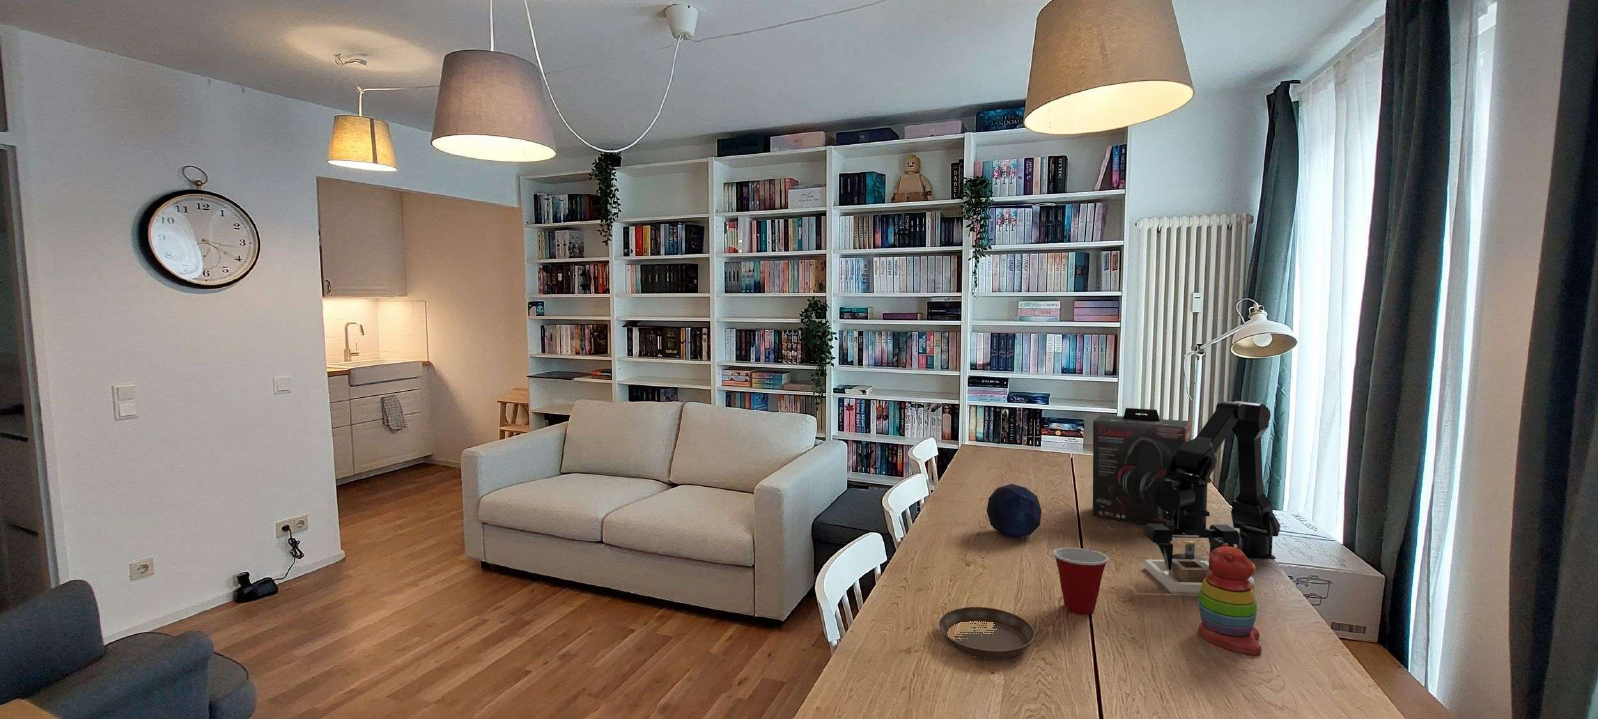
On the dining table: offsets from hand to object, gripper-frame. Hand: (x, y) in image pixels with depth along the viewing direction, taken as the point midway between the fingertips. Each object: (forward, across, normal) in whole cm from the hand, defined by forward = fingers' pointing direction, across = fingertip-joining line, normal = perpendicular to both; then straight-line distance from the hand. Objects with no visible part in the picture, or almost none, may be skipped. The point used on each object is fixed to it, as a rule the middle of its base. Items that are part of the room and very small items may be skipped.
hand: (1189, 570), depth 151 cm
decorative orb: (+3, +33, -29) cm, 44 cm away
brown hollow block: (+2, 0, 0) cm, 2 cm away
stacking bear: (+3, +5, +26) cm, 27 cm away
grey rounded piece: (+3, -6, -13) cm, 15 cm away
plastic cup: (+3, +29, +15) cm, 33 cm away
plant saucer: (+3, +51, +30) cm, 59 cm away
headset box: (+3, -7, -46) cm, 47 cm away
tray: (+3, 0, 0) cm, 3 cm away
